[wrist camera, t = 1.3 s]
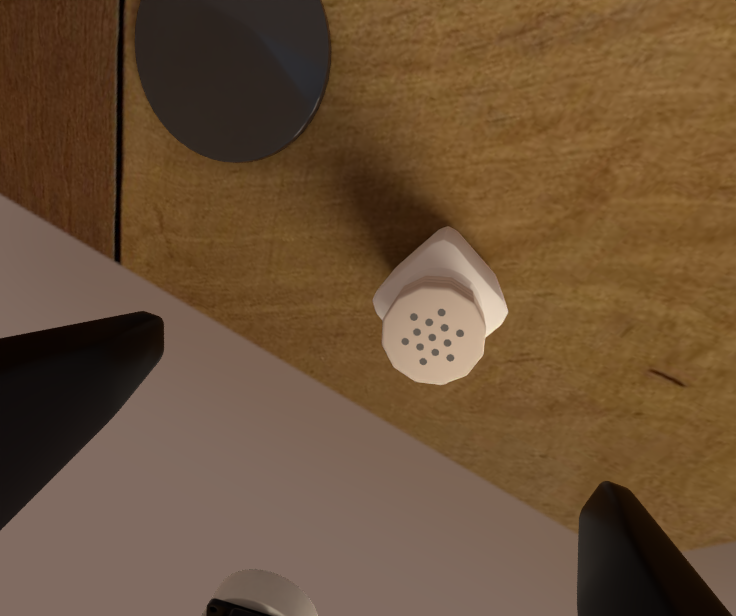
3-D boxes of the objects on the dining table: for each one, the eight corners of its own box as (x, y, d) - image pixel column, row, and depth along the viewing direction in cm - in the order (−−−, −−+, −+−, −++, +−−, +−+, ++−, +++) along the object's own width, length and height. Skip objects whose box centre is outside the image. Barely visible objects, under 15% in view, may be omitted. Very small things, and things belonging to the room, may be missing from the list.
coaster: (320, 175, 23) (316, 175, 22) (142, 149, 24) (135, 148, 24) (343, -61, 20) (340, -67, 19) (139, -73, 21) (132, -79, 21)
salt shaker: (388, 272, 23) (341, 328, 14) (448, 219, 22) (439, 244, 13) (439, 330, 23) (425, 420, 14) (502, 280, 22) (529, 347, 13)
